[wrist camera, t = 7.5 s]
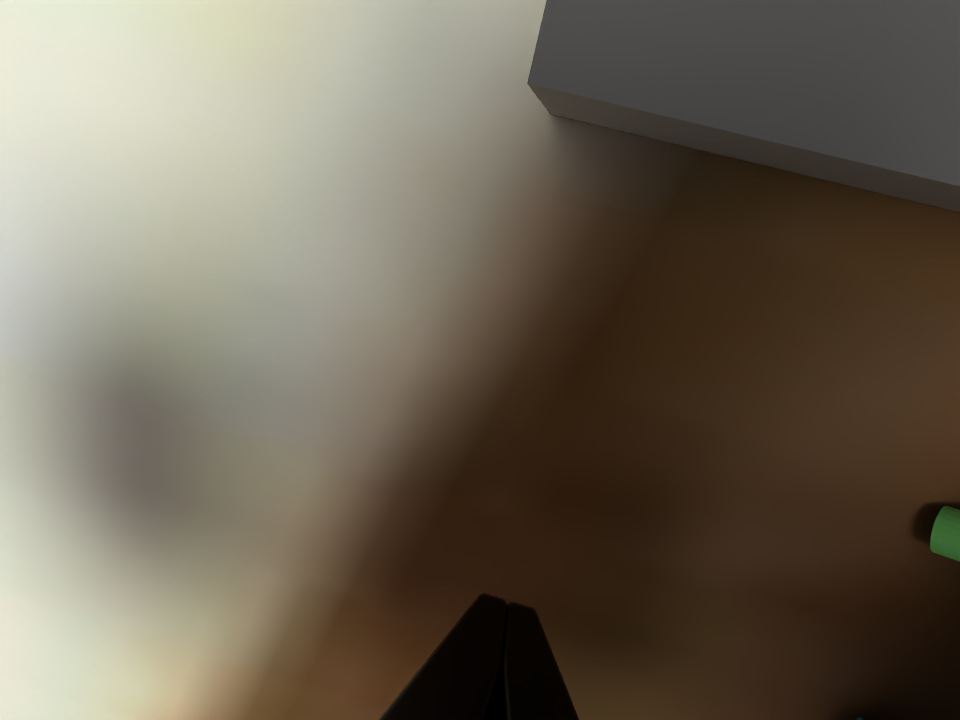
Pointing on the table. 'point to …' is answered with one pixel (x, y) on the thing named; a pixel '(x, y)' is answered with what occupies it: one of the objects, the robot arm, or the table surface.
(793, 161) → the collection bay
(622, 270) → the table surface
